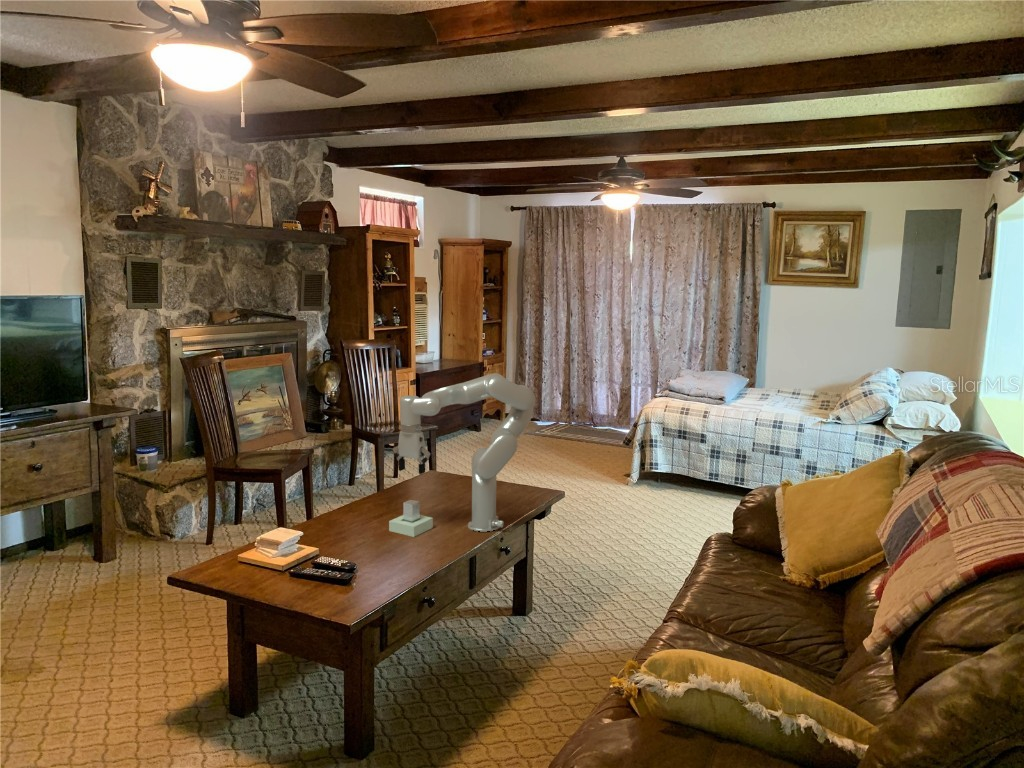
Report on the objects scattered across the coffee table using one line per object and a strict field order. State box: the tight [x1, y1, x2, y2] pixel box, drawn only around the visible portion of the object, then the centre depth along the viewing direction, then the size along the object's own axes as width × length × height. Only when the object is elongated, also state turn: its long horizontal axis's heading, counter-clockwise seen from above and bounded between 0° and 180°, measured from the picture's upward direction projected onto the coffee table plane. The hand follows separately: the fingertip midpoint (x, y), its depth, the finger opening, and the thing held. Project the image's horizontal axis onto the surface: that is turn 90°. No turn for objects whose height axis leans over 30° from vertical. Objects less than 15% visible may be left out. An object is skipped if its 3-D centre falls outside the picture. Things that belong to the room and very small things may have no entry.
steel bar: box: [402, 499, 421, 523], centre depth 279 cm, size 4×4×11 cm
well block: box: [388, 514, 434, 538], centre depth 279 cm, size 12×12×4 cm
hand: (411, 471), depth 276 cm, fingers open, 9 cm apart
